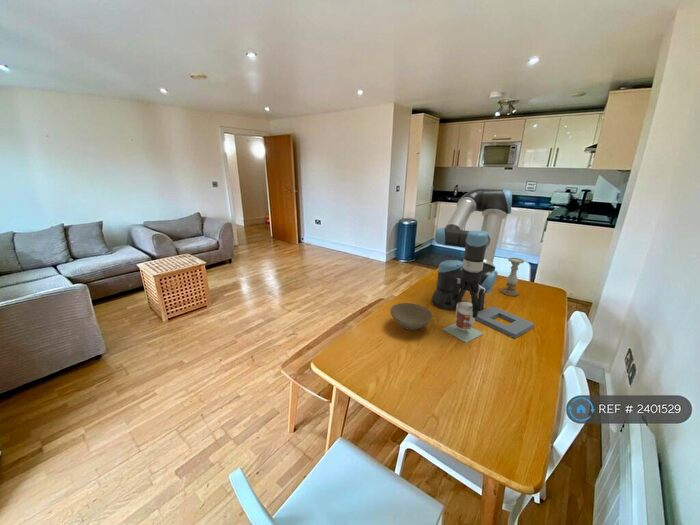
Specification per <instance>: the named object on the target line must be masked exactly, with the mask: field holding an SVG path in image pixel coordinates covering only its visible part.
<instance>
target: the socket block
mask: <svg viewBox="0 0 700 525" xmlns="http://www.w3.org/2000/svg"><path fill="white" fill-rule="evenodd" d="M497 318H501V319H504V320H505V321H508V322H510V323H509V324H504V323H502V322H500V321H498V320H496V319H497ZM475 321H477V322H479V323H481V324H483V325H485V326H487V327H490V328H492V329H494V330H496V331H498V332H500V333H502V334H504V335H506V336H508V337H510V338H512V339H513V340H515V339H517V338H519V337H520V336H522V335H524V334H525V333H527V332H529V331H530V330H532V329H534V328H535V324H536V323H535V322H532V321H529V320H526V319H524V318H522V317H521V316H517V315H515V314H512V313H510V312H507V310H506V311H505V310H503V309H501V308H499V307H496V306H493V305H491V306H489V307H487V308H484V309H483V310H482V311H478V315H477V317H476V318H475Z"/></svg>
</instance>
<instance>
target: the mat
mask: <svg viewBox="0 0 700 525" xmlns="http://www.w3.org/2000/svg"><path fill="white" fill-rule="evenodd" d="M442 330H443V331H444V332H446V333H447V334H450V335H451V336H453V337H454V338H456V339H458V340H460V341H462V342H463V343H464V344H467V343H469V342H471V341H473V340H475V339H477V338H479V337H481V336H483V335H484V332H481V331H480V330H478V329H476V328H473V327H472V326H471V329H470V330H461V329H459V328H457V326H456V322H455V323H452V324H450V325H449V326H446V327H444V328H442Z"/></svg>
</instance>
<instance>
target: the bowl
mask: <svg viewBox="0 0 700 525" xmlns="http://www.w3.org/2000/svg"><path fill="white" fill-rule="evenodd" d="M389 311H390V314H391V317H392V319H393V320H395V322H397V324H399V325H400V326H401V327H403V328H404V329H407V330H410V331H415V330H419V329H421V328H422V327H424V326H427V325H428V324H430V322H431V321H432V319H433V313H432V311H431V310H430V309H428V308H426V307H425V306H423V305H420V304H416V303H408V302H401V303H397V304H394V305H392V307H391V308H390V310H389Z"/></svg>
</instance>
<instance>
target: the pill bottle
mask: <svg viewBox="0 0 700 525" xmlns="http://www.w3.org/2000/svg"><path fill="white" fill-rule="evenodd" d="M460 306H461V307H460V308H459V309H458V314H457V318H456V322H455V323H456V326H457V328H459V329H461V330H470V329H471V327H472V325H473V324H471V325H470V324H469V319H470V313H471V310H472V309H473V306H472V302H468V301H462V303H461V305H460Z"/></svg>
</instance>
